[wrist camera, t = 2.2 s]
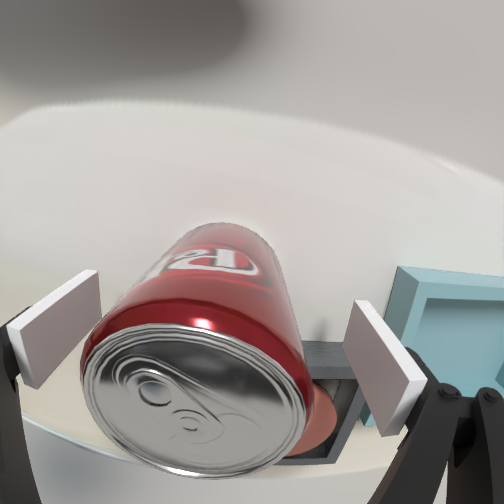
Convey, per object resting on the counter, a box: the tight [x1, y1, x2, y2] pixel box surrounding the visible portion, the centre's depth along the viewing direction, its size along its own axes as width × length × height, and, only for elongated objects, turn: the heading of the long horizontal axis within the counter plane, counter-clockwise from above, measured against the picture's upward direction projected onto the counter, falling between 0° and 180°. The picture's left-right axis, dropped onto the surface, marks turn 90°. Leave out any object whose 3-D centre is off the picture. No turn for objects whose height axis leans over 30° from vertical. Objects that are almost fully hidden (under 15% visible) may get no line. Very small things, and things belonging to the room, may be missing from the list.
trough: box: [360, 266, 504, 427], centre depth 19 cm, size 18×12×3 cm, turn 84°
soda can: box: [80, 222, 315, 480], centre depth 13 cm, size 7×7×12 cm
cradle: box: [273, 341, 366, 465], centre depth 20 cm, size 11×11×3 cm
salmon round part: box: [285, 382, 337, 456], centre depth 19 cm, size 8×8×2 cm
